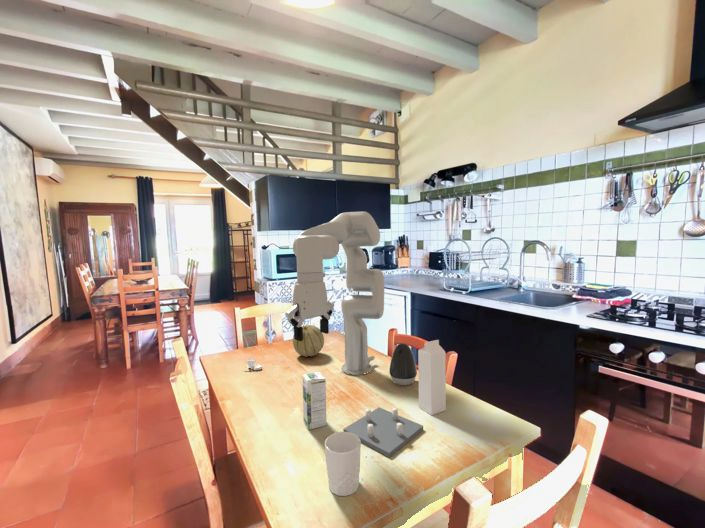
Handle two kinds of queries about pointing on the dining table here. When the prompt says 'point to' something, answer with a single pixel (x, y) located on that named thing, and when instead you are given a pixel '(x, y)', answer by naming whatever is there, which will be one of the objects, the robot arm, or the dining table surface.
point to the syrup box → (314, 400)
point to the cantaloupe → (309, 341)
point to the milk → (432, 378)
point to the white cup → (343, 462)
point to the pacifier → (253, 364)
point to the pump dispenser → (403, 365)
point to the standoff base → (384, 430)
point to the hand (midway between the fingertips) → (312, 336)
